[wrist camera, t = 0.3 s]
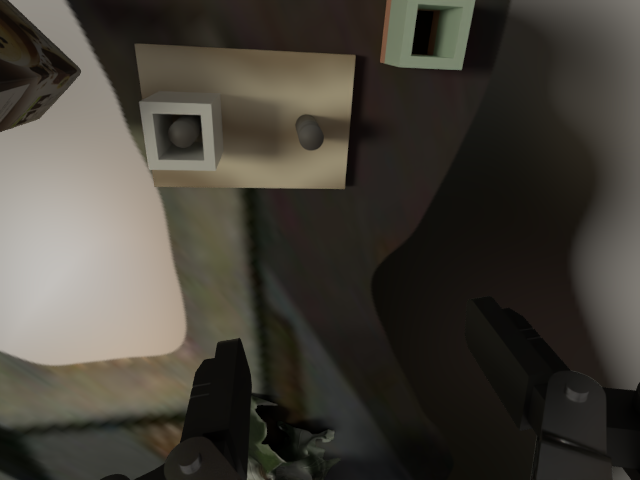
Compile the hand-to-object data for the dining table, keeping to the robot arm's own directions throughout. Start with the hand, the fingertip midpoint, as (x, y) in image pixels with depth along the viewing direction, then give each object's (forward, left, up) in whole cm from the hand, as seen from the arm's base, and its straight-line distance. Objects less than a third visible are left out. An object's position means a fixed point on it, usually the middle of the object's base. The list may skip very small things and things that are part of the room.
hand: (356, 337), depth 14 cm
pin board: (-2, -5, -28) cm, 28 cm away
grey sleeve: (-2, -10, -26) cm, 28 cm away
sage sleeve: (-10, +9, -28) cm, 31 cm away
